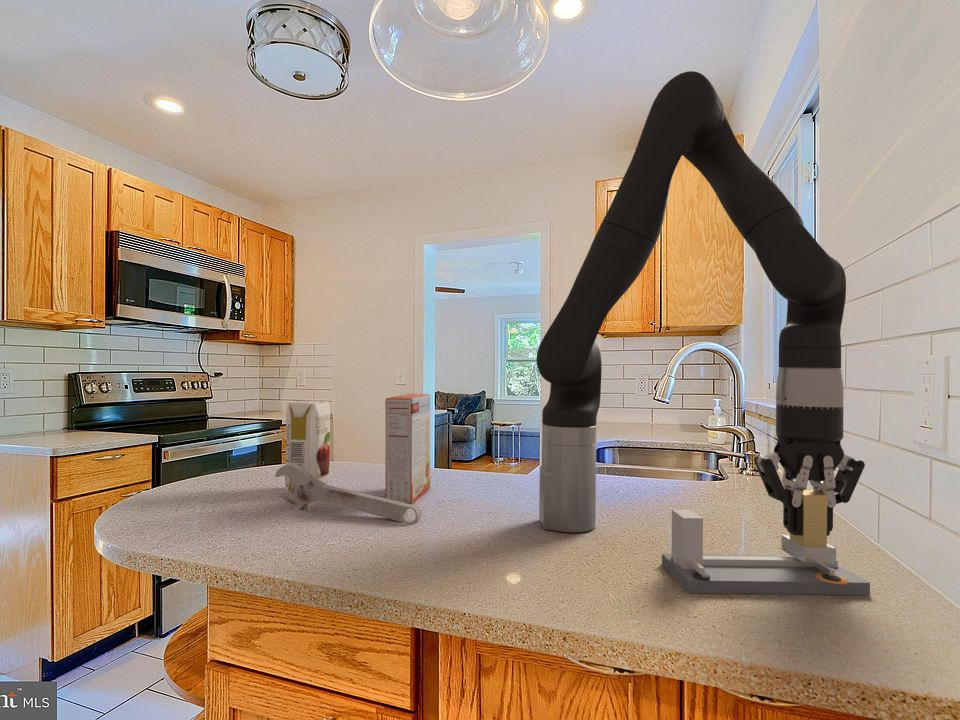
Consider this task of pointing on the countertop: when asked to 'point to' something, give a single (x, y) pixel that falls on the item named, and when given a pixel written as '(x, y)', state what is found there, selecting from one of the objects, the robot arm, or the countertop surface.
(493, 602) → the countertop surface
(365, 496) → the wrench
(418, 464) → the cracker box
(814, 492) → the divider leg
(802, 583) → the bolt plate
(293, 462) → the juice carton
